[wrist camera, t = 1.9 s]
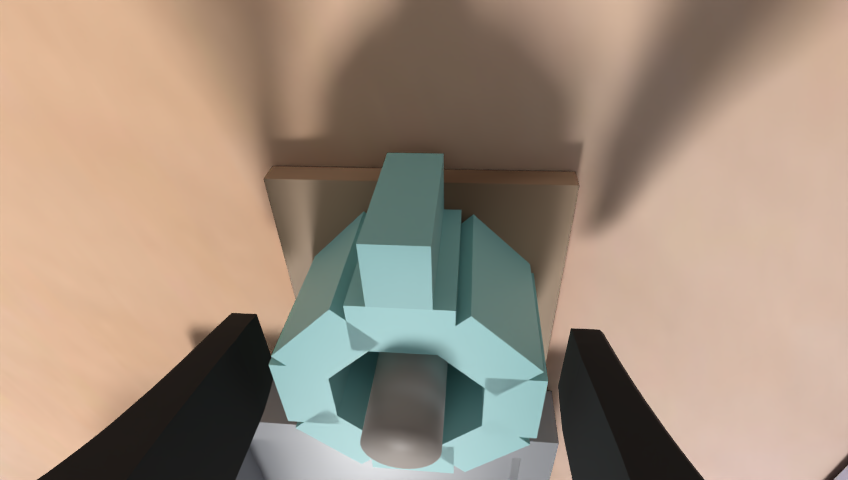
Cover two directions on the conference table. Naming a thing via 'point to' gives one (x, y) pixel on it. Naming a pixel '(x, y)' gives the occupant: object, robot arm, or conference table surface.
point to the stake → (473, 194)
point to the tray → (342, 476)
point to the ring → (416, 322)
